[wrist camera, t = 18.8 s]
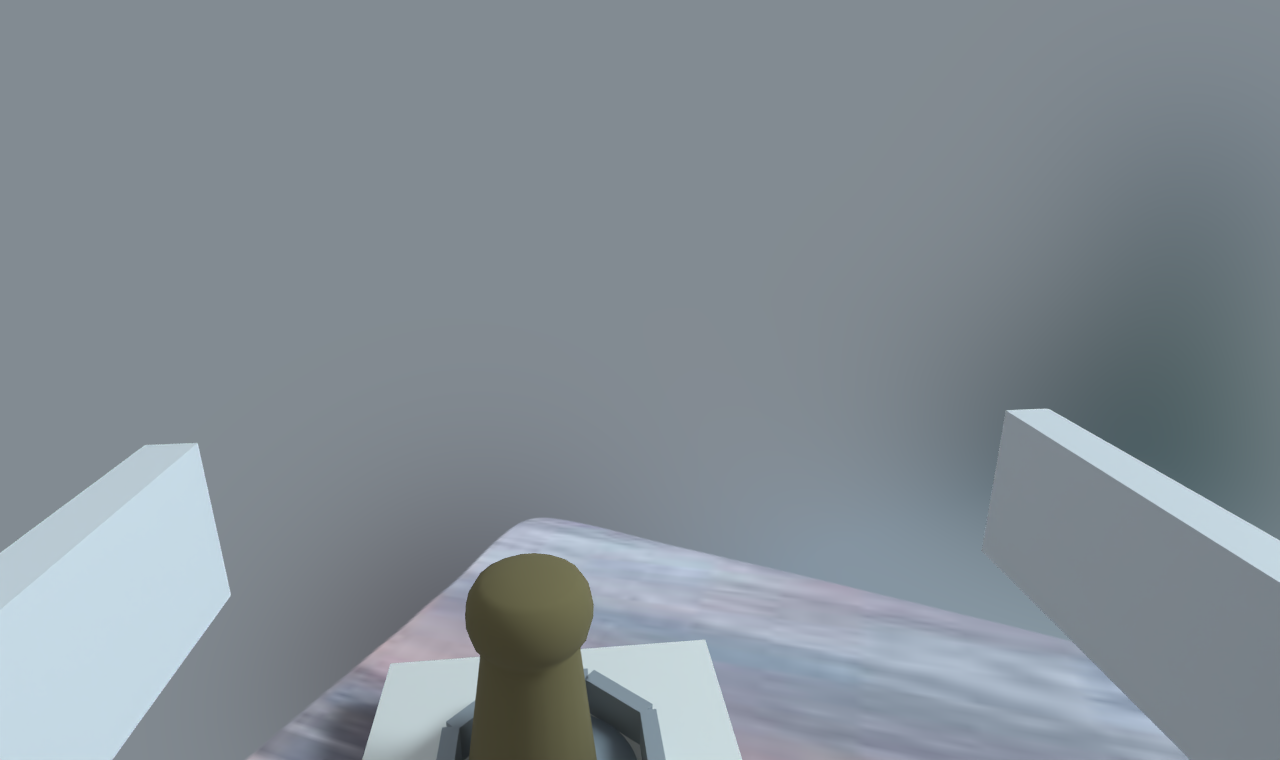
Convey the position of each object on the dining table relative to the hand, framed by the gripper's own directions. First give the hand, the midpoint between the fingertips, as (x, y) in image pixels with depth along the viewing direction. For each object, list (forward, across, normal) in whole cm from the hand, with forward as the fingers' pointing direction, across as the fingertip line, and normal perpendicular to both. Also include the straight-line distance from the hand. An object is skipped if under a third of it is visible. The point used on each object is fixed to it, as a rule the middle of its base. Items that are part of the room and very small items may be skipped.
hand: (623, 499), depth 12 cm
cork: (+15, -3, -22) cm, 27 cm away
